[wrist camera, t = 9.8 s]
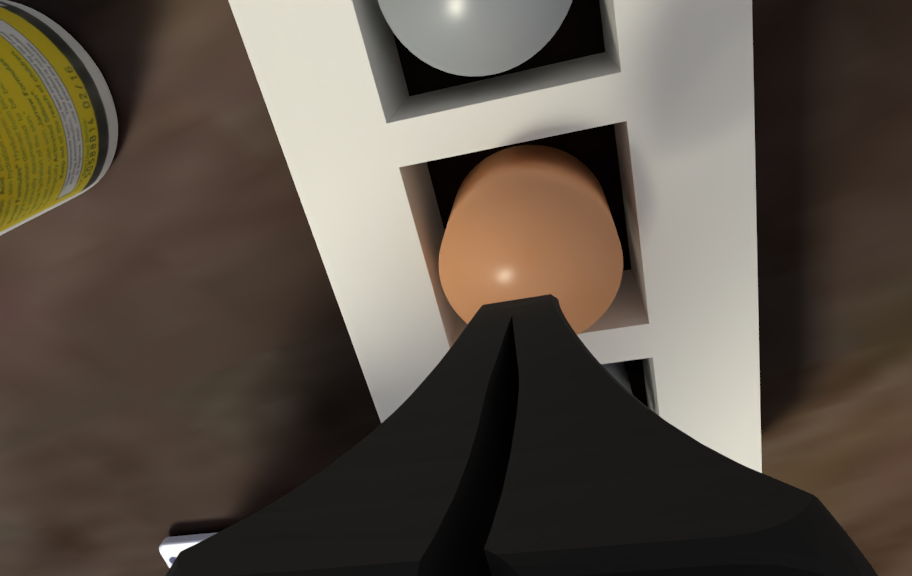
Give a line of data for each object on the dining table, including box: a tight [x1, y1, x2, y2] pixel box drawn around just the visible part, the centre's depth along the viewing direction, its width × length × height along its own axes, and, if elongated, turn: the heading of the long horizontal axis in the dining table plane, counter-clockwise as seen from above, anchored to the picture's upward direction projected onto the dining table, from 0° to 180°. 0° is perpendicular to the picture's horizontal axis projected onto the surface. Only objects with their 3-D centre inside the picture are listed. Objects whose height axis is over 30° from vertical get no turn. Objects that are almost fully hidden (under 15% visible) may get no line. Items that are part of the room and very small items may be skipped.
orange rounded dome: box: [439, 145, 623, 335], centre depth 15 cm, size 4×4×3 cm
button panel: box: [229, 0, 762, 473], centre depth 16 cm, size 20×10×3 cm, turn 13°
